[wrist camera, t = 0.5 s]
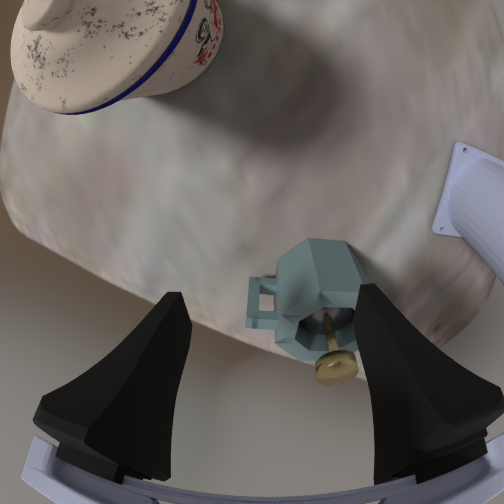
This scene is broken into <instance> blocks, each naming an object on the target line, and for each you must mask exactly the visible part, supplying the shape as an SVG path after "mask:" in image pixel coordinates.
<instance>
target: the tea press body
mask: <svg viewBox="0 0 504 504" xmlns="http://www.w3.org/2000/svg"><path fill="white" fill-rule="evenodd" d="M360 284H370V282H369V279H368V277H367V275H366V272H365V270H364V268H363V266H362V264H361V263H360V261H359V260H358V259H357V257H356V256H355V254H354V253H353V252H352V250H351V249H350V248H349V246H348V245H347V244H346V242H345V241H334V240H322V239H310V238H308V239H306V240H305V241H303V242H302V243H301V244H299V245H298V246H296V247H295V248H293V249H292V250H290V251H289V252H287V253H286V254H285V255H283V256H282V257H280V258H279V259H278V260H277V267H276V275H275V278H262V277H250V278H249V291H248V304H247V316H246V328H253V329H269V330H275V344H277V345H278V346H279V347H281V348H282V349H284V350H285V351H286V352H288V353H289V354H290V355H292V356H293V357H295V358H296V359H297V360H299V361H316V360H317V359H318V358H319V357H320V356H322V355H324V354H326V353H328V348H327V342H326V337H325V335H319V334H314V333H311V332H309V331H307V330H306V329H305V328H304V326H303V323H302V319H304V318H306V317H307V316H309V315H311V314H313V313H314V312H316V311H318V310H320V309H321V308H323V307H342V308H350V309H351V314H352V315H351V319H350V321H349V322H348V324H347V325H346V326H345V327H343V328H342V329H341V330H339V331H337V332H335V334H336V339H337V343H338V348H339V350H348V351H351V352H355V351H356V350H358V345H357V342H356V336H355V330H354V323H353V317H354V313H355V308H356V303H357V298H358V293H359V288H360ZM259 294H269V295H274V311H260V310H259Z"/></svg>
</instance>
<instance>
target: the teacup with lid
mask: <svg viewBox="0 0 504 504" xmlns="http://www.w3.org/2000/svg"><path fill="white" fill-rule="evenodd" d="M223 31H224V23H223V17H222V13H221V10H220V8H219V6H218V4H217V2H216V1H215V0H25V1H24V3H23V5H22V7H21V9H20V11H19V14H18V17H17V19H16V23H15V26H14V30H13V34H12V41H11V64H12V69H13V73H14V76H15V79H16V81H17V84H18V86H19V87H20V89H21V91H22V92H23V93H24V95H25V96H26V97H27V98H28V99H29V100H30V101H32V102H33V103H34V104H36V105H37V106H39V107H41V108H42V109H45V110H48V111H51V112H54V113H59V114H65V115H78V114H86V113H90V112H94V111H97V110H100V109H103V108H105V107H107V106H109V105H112V104H114V103H115V102H117V101H120V100H126V99H132V98H138V97H145V96H152V95H160V94H165V93H168V92H171V91H174V90H177V89H179V88H181V87H183V86H185V85H187V84H188V83H190V82H191V81H193V80H194V79H196V78H197V77H198V76H199V75H200V74H201V73H202V72H203V71H204V70H205V69H206V68H207V67H208V66H209V65H210V63H211V62H212V60H213V59H214V57H215V56H216V54H217V52H218V50H219V47H220V45H221V42H222V38H223Z"/></svg>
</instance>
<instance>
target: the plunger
mask: <svg viewBox="0 0 504 504" xmlns="http://www.w3.org/2000/svg"><path fill="white" fill-rule="evenodd" d="M351 315H352V314H351V309H350V308H342V307H323V308H321V309H320V310H318V311H316V312H314V313H313V314H311V315H309V316H307V317H306V318H304V319H302V323H303V326H304V328H305V329H306V330H307V331H309V332H311V333H314V334H319V335H325V337H326V342H327V348H328V353H326V354H324V355H322V356H320V357H319V358H318V359H317V360H316V362H315V369H316V378H317V381H318V382H319V383H321V384H323V385H329V386H332V385H340V384H343V383H346V382H348V381H350V380H352V379H353V378H354V377H356V375H357V374H358V372H359V369H358V365H357V361H356V356H355V354H354V353H353V352H351V351H348V350H339V348H338V343H337V339H336V334H335V332H337V331H339V330H341V329H342V328H343V327H345V326H346V325H347V324H348V322H349V321H350V319H351Z"/></svg>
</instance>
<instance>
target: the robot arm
mask: <svg viewBox="0 0 504 504" xmlns="http://www.w3.org/2000/svg"><path fill="white" fill-rule="evenodd" d="M464 148H465V151H464V152H463V149H464ZM441 227H442V229H440V228H441ZM432 231H433V232H434V233H436V234H442V235H449V236H455V237H462V238H464V239H465V240H466V241H467V242H468V243H469V244H470V245H471V247H472V248H473V249H474V250H475V251H476V252H477V253H478V254H479V256H480V257H481V258H482V259H483V260H484V261H485V263H486V264H487V265H488V266H489V267H490V268H491V270H492V271H493V272H494V273H495V275H496V276H497V277H498V278H499V280H500V281H501V282H502V284H503V285H504V161H502V160H500V159H498V158H496V157H494V156H492V155H490V154H487V153H485V152H483V151H481V150H478V149H476V148H474V147H471V146H469V145H466V144H464V143H461V142H457V143H456V144H455V146H454V150H453V155H452V159H451V163H450V167H449V171H448V175H447V179H446V183H445V186H444V190H443V193H442V196H441V200H440V203H439V206H438V209H437V212H436V215H435V218H434V221H433V224H432ZM353 323H354V330H355V336H356V342H357V345H358V349H359V352H360V356H361V360H362V363H363V367H364V370H365V374H366V378H367V382H368V386H369V390H370V395H371V403H372V412H373V424H374V445H375V458H374V486H370V487H365V488H360V489H354V490H348V491H342V492H335V493H328V494H319V495H307V496H294V497H293V496H291V497H248V496H247V497H246V496H231V495H220V494H210V493H203V492H196V491H190V490H184V489H178V488H173V487H168V486H164V485H159V484H155V483H151V482H147V481H143V478H144V479H148V480H151V479H156V480H160V481H166V480H168V479H169V478H170V477H171V438H172V426H173V416H174V408H175V401H176V396H177V391H178V387H179V384H180V380H181V376H182V372H183V369H184V365H185V361H186V358H187V354H188V350H189V346H190V340H191V332H192V323H191V320H190V317H189V314H188V311H187V308H186V305H185V302H184V299H183V296H182V293H181V292H167V293H166V294H165V295H164V296H163V297H162V299H161V300H160V301H159V302H158V303H157V304H156V305H155V306H154V308H153V309H152V310H151V311H150V312H149V313H148V315H147V316H146V317H145V318H144V319H143V320H142V321H141V322H140V323H139V325H138V326H137V327H136V328H135V329H134V330H133V331H132V332H131V333H130V334H129V335H128V336H127V337H126V338H125V339H124V340H123V341H122V342H121V343H120V344H119V345H118V346H117V347H116V348H115V349H114V350H112V352H110V353H109V354H108V355H107V356H106V357H104V358H103V359H102V360H101V361H99V362H98V363H97V364H95V365H94V366H93V367H91V368H90V369H89V370H87V371H86V372H85V373H83V374H82V375H80V376H79V377H77V378H76V379H74V380H73V381H71V382H69V383H67V384H66V385H64V386H62V387H60V388H58V389H56V390H54V391H52V392H50V393H48V394H46V395H44V396H43V397H42V399H41V401H40V404H39V406H38V408H37V411H36V413H35V415H34V418H33V422H34V424H35V425H36V426H37V427H39V428H40V429H41V430H43V431H44V432H46V433H47V434H48V435H50V436H51V437H53V438H54V439H56V440H57V441H59V442H60V444H59V447H57V446H55V445H53V444H52V443H50V442H48V441H46V440H44V439H42V438H40V437H38V436H35V437H34V439H33V442H32V445H31V448H30V451H29V454H28V457H27V460H26V463H25V467H24V470H23V473H22V477H21V478H22V480H23V481H25V482H26V483H28V484H29V485H30V486H32V487H33V488H35V489H36V490H37V491H39V492H40V493H42V494H43V495H45V496H46V497H47V498H49V499H50V500H52V501H53V502H55V503H56V504H159V502H158V501H157V500H156V499H158V500H162V501H166V502H171V503H175V504H364V503H369V502H373V501H378V500H381V501H380V502H379V503H378V504H485V503H486V502H488V501H489V500H490V499H492V498H493V497H495V496H496V495H498V494H499V493H500V492H502V491H503V490H504V432H503V433H502V434H500V435H498V436H496V437H495V438H493V439H491V440H490V441H488V442H486V443H485V439H484V437H486V436H487V434H488V433H487V430H486V427H488V426H489V425H490V424H491V423H493V422H494V421H495V420H496V419H497V418H499V417H500V416H501V415H502V414H503V413H504V396H503V393H502V391H501V388H500V387H498V386H496V385H494V384H493V383H491V382H489V381H487V380H485V379H482V378H481V377H479V376H477V375H475V374H474V373H472V372H470V371H469V370H467V369H466V368H464V367H463V366H461V365H460V364H458V363H457V362H455V361H454V360H453V359H451V358H450V357H448V356H447V355H446V354H445V353H443V352H442V351H441V350H440V349H438V348H437V347H436V346H435V345H434V344H433V343H431V342H430V341H429V340H428V339H427V338H426V337H425V336H423V335H422V334H421V333H420V332H419V331H418V330H417V329H416V328H415V327H414V326H413V325H412V324H411V323H410V322H409V321H408V320H407V319H406V318H405V316H404V315H403V314H402V313H401V312H400V311H399V310H398V309H397V308H396V307H395V306H394V305H393V303H392V302H391V301H390V300H389V299H388V298H387V297H386V296H385V294H384V293H383V292H382V291H381V290H380V289H379V288H378V287H377V286H376V285H375V284H374V283H372V284H360V288H359V293H358V298H357V303H356V308H355V313H354V317H353ZM382 499H383V500H382Z"/></svg>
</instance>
